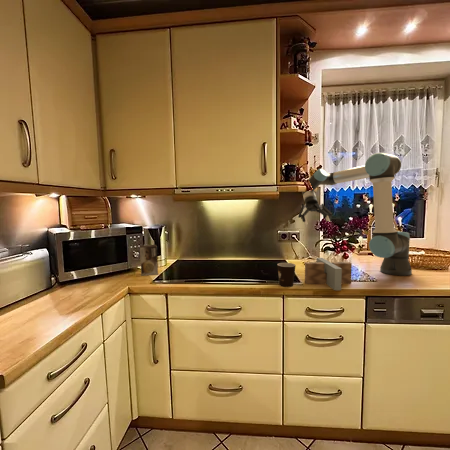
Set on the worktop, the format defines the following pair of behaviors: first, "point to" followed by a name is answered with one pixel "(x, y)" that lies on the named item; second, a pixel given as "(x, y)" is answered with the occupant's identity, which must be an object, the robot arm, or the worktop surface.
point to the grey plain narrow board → (332, 274)
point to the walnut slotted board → (317, 275)
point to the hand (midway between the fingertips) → (318, 225)
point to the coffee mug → (286, 274)
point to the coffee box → (148, 260)
